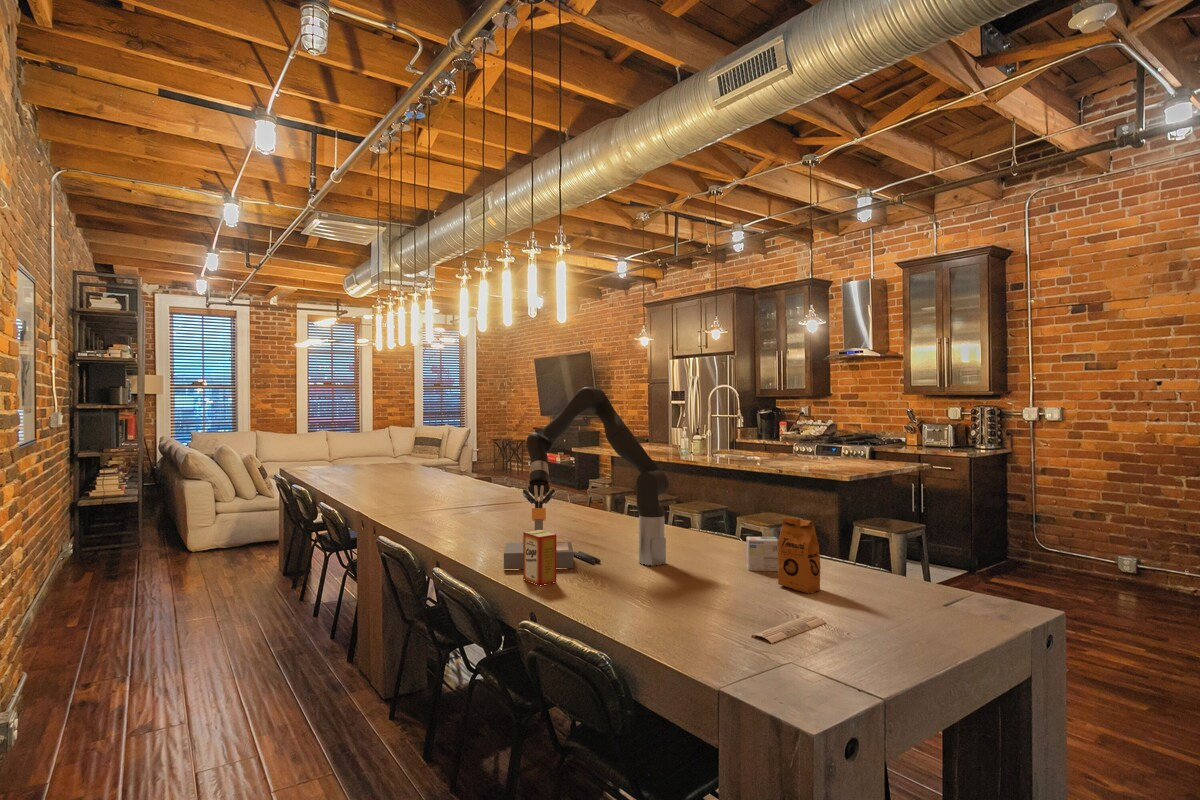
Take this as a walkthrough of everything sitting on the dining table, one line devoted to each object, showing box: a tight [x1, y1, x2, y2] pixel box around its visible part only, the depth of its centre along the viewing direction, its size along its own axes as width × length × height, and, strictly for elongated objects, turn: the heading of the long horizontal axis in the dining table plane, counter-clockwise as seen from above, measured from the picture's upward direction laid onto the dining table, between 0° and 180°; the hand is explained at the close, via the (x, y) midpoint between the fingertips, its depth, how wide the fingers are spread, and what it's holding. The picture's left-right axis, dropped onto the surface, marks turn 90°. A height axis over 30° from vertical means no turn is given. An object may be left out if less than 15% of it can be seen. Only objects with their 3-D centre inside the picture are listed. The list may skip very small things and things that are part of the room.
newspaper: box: [750, 615, 827, 645], centre depth 165 cm, size 24×7×2 cm, turn 128°
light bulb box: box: [745, 536, 779, 572], centre depth 224 cm, size 11×7×11 cm, turn 84°
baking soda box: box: [522, 529, 557, 587], centre depth 208 cm, size 10×6×16 cm
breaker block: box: [503, 541, 574, 570], centre depth 230 cm, size 16×24×9 cm, turn 95°
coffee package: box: [777, 516, 821, 595], centre depth 201 cm, size 10×12×22 cm
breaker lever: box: [531, 507, 547, 531], centre depth 233 cm, size 2×5×13 cm, turn 96°
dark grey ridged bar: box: [573, 550, 602, 565], centre depth 237 cm, size 16×4×2 cm, turn 31°
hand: (538, 511), depth 240 cm, fingers closed
